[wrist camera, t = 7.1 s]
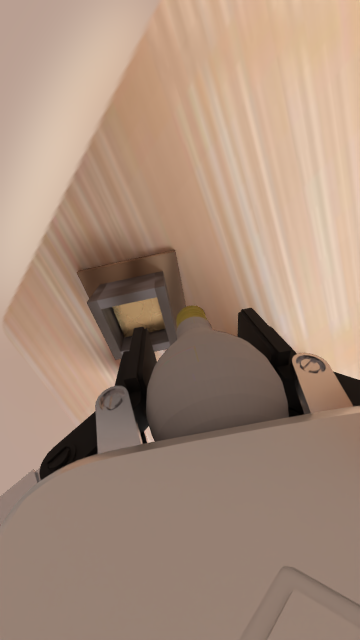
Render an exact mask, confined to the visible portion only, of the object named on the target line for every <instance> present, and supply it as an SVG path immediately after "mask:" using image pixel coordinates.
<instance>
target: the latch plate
mask: <svg viewBox="0 0 360 640" xmlns="http://www.w3.org/2000/svg"><path fill="white" fill-rule="evenodd" d="M112 308H113V310H114V313H115V315H116V317H117V320H118V322H119V324H120V327H121V329H122V331H123V334H124V336H125V337H129V336H132V335H133V330H134V328H138V327H144V329H146V328H147V329H148V332H152V331H157V330H161V329H166V328H165V325H164V321H163V317H162V314H161V310H160V306H159V303H158V299H157V297H156V298H151V299H146V300H142V301H137V302H132V303H128V304H123V305H119V306H114V307H112Z"/></svg>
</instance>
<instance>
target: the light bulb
mask: <svg viewBox="0 0 360 640" xmlns="http://www.w3.org/2000/svg"><path fill="white" fill-rule="evenodd" d="M176 323H177V331H176V335H177V341H175V342H174V343H173V344H172V345H171V346H170V347H169V348H168V349H167V350H166V351H165V353H164V354H163V355H162V356H161V357H160V359H159V360H158V361H157V363H156V365H155V367H154V369H153V372H152V375H151V378H150V381H149V383H148V387H147V400H146V416H147V420H148V423H149V427H150V430H151V434H152V436H153V439H154V441H155V442H156V441H161V440H167V439H172V438H177V437H183V436H188V435H194V434H199V433H204V432H210V431H215V430H221V429H226V428H232V427H237V426H243V425H249V424H254V423H260V422H265V421H271V420H277V419H282V418H288V417H289V412H288V402H287V398H286V394H285V391H284V387H283V383H282V381H281V379H280V377H279V375H278V374H277V372H276V371H275V369H274V368H273V366H272V365H271V363H270V362H269V360H268V359H267V358H266V357H265V356H264V355H263V354H262V353H261V352H260V351H258V350H257V349H256V348H255V347H254V346H252V345H251V344H250V343H249V342H247V341H245V340H244V339H241V338H239V337H236V336H233V335H231V334H228V333H224V332H220V331H215V330H212V327H211V325H210V323H209V322H208V321H207V318H206V316H205V312H204V311H203V309H201V308H200V307H198V306H187V307H185V308H183V309H182V310H181V311H180V312H179V313H178V315H177V318H176Z"/></svg>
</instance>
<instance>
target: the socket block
mask: <svg viewBox="0 0 360 640" xmlns="http://www.w3.org/2000/svg"><path fill="white" fill-rule="evenodd" d="M77 274H78V276H79V278H80V280H81V282H82V284H83V286H84V288H85V290H86V293H87V295H88V297H89V300H88V302H87V304H88V306H89V308H90V310H91V312H92V314H93V316H94V318H95V320H96V322H97V324H98V326H99V328H100V330H101V332H102V334H103V336H104V338H105V340H106V342H107V344H108V346H109V348H110V350H111V352H112V354H113V356H114V358H115V360H117V359H122V355H123V352H124V351H129V350H130V345H131V340H132V336H129V337H125V336H124V334H123V331H122V329H121V327H120V324H119V322H118V320H117V317H116V315H115V313H114V310H113V308H112V307H114V306H119V305H123V304H128V303H132V302H137V301H142V300H146V299H151V298H156V297H157V299H158V303H159V306H160V310H161V314H162V317H163V321H164V325H165V328H166V329H161V330H157V331H152V332H149V336H150V339H151V343H152V346H153V350H154V352H155V351H159V350H164V349H168V348H169V347H170V346H171V345H172V344H173V343H174V342H175V341H177V335H176V331H177V323H176V318H177V315H178V313H179V312H180V311H181V310H182V309H183V308H185V307H186V305H185V300H184V294H183V289H182V284H181V279H180V273H179V268H178V263H177V257H176V252H175V250H173V251H168V252H163V253H159V254H154V255H150V256H145V257H140V258H136V259H131V260H126V261H122V262H117V263H112V264H108V265H103V266H99V267H94V268H89V269H85V270H80V271H78V272H77Z"/></svg>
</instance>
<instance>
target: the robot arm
mask: <svg viewBox="0 0 360 640" xmlns="http://www.w3.org/2000/svg"><path fill="white" fill-rule="evenodd" d="M238 337H239V338H241V339H244V340H245V341H247V342H249V343H250V344H251V345H252V346H254V347H255V348H256V349H257V350H258V351H260V352H261V353H262V354H263V355H264V356H265V357H266V358H267V359H268V360H269V362H270V363H271V365H272V366H273V368H274V369H275V371H276V372H277V374H278V375H279V377H280V379H281V381H282V383H283V387H284V391H285V394H286V398H287V402H288V412H289V417H288V418H282V419H277V420H271V421H265V422H260V423H254V424H249V425H243V426H237V427H232V428H226V429H221V430H215V431H210V432H204V433H199V434H194V435H188V436H183V437H177V438H172V439H167V440H161V441H156V442H151V443H148V440H147V436H146V433H145V430H146V428H147V427H148V426H149V423H148V420H147V416H146V400H147V387H148V383H149V381H150V378H151V375H152V372H153V369H154V367H155V365H156V363H157V361H156V357H155V353H154V350H153V346H152V343H151V339H150V336H149V332H148V329H147V328H146V329H144V327H138V328H134V330H133V335H132V340H131V345H130V350H129V351H124V352H123V355H122V359H121V363H120V367H119V371H118V375H117V379H116V383H115V386H113V387H110V388H108V389H106V390H105V391H104V392H103V393H101V395H100V396H99V397H98V399H97V401H96V405H95V409H96V411H95V412H94V413H93V414H92V415H91V416H89V417H88V418H87V419H86V420H85V421H84V422H83V423H81V424H80V425H79V426H78V427H77V428H76V429H74V430H73V431H72V432H71V433H70V434H69V435H68V436H66V437H65V438H64V439H63V440H62V441H61V442H59V443H58V444H57V445H56V446H55V447H54V448H53V449H52V450H51V451H50V452H49V453H48V454H47V455H46V457H45V458H44V460H43V462H42V464H41V467H40V468H39V469H38V470H37V471H35V470H34V469H33V470H32V471H31V472H30V473H28V474H27V475H26V476H25V477H23V478H22V479H21V480H20V481H19V482H17V483H16V484H15V485H14V486H12V487H11V488H10V489H9V490H7V491H6V492H5V493H4V494H3V495H1V496H0V640H360V380H358V379H354V378H351V377H348V376H345V375H342V374H339V373H336V372H333V371H332V369H331V367H330V365H329V364H328V363H327V362H326V361H325V360H324V359H323V358H321V357H319V356H317V355H314V354H310V353H299V354H297V353H296V352H295V351H294V350H293V349H292V348H291V347H290V346H289V345H288V344H287V343H286V342H285V341H284V340H283V339H282V338H281V337H280V335H279V334H278V333H277V332H276V331H275V330H274V329H273V328H272V327H270V326H268V325H267V324H266V323H265V321H264V320H263V319H262V318H261V317H260V316H259V315H258V314H257V313H256V312H255V311H254V310H253V309H252V308H247V309H242V310H241V312H239V313H238Z"/></svg>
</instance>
